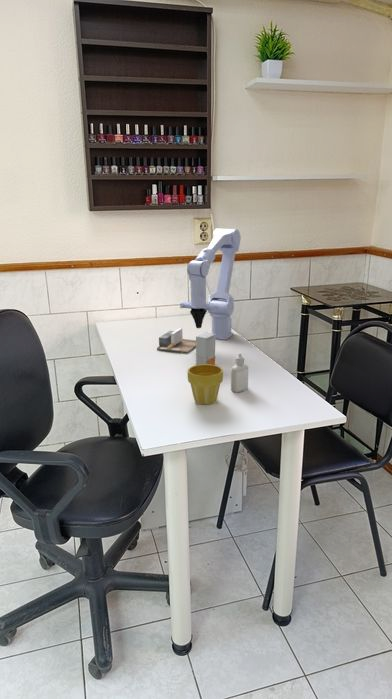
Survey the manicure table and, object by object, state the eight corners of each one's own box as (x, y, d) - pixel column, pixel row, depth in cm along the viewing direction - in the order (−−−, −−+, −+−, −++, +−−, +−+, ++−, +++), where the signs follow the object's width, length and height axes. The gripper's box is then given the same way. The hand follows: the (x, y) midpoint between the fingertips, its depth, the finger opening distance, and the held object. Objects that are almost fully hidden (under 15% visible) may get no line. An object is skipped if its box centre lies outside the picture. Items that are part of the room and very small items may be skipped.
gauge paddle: (179, 339, 199) (179, 328, 197) (182, 339, 199) (182, 328, 197) (167, 348, 189) (166, 336, 188) (170, 348, 189) (169, 336, 187)
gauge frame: (172, 339, 204) (172, 329, 202) (201, 343, 199) (201, 332, 198) (156, 350, 191) (155, 339, 190) (186, 354, 186) (186, 343, 185)
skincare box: (205, 371, 169) (205, 338, 165) (195, 369, 172) (195, 336, 168) (215, 366, 174) (215, 333, 170) (206, 364, 176) (205, 331, 172)
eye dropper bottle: (250, 391, 153) (250, 355, 149) (232, 393, 152) (232, 356, 148) (246, 386, 157) (247, 350, 153) (229, 387, 156) (229, 351, 152)
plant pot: (202, 390, 154) (202, 361, 151) (229, 398, 148) (230, 368, 145) (181, 401, 147) (180, 370, 144) (208, 410, 140) (208, 379, 137)
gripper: (176, 293, 184) (177, 328, 189) (212, 296, 179) (212, 332, 183) (184, 289, 190) (185, 323, 195) (219, 292, 185) (219, 327, 189)
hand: (198, 327), depth 190 cm, fingers closed
